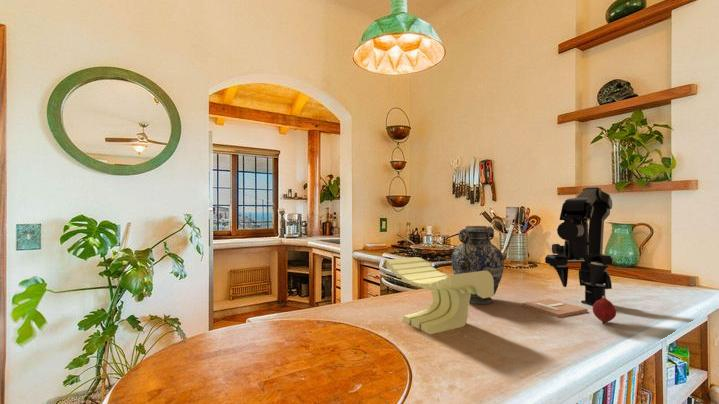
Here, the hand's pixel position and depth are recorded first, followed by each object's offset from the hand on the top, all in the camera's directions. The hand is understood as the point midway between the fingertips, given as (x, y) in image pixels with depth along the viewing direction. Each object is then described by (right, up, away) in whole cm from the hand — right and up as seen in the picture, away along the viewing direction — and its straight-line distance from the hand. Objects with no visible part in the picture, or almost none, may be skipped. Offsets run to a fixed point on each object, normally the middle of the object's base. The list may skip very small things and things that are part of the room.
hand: (578, 286), depth 110 cm
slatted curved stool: (-47, -10, -6) cm, 49 cm away
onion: (+3, -9, -7) cm, 12 cm away
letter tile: (-4, -10, +7) cm, 13 cm away
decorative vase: (-26, -10, +19) cm, 34 cm away
